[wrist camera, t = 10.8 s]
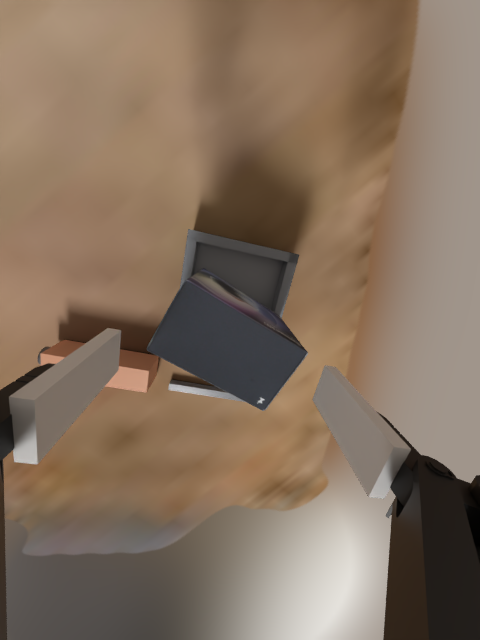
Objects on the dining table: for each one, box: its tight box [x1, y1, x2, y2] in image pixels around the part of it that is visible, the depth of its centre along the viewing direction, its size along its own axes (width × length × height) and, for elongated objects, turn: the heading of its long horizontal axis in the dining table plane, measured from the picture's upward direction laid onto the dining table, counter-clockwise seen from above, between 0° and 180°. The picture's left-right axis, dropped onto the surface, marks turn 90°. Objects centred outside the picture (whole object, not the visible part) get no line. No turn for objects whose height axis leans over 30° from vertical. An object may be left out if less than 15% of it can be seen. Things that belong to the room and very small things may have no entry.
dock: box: [169, 229, 299, 402], centre depth 29 cm, size 12×21×3 cm, turn 168°
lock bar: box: [38, 340, 159, 393], centre depth 29 cm, size 13×3×4 cm, turn 78°
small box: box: [147, 268, 308, 411], centre depth 22 cm, size 11×6×10 cm, turn 58°
